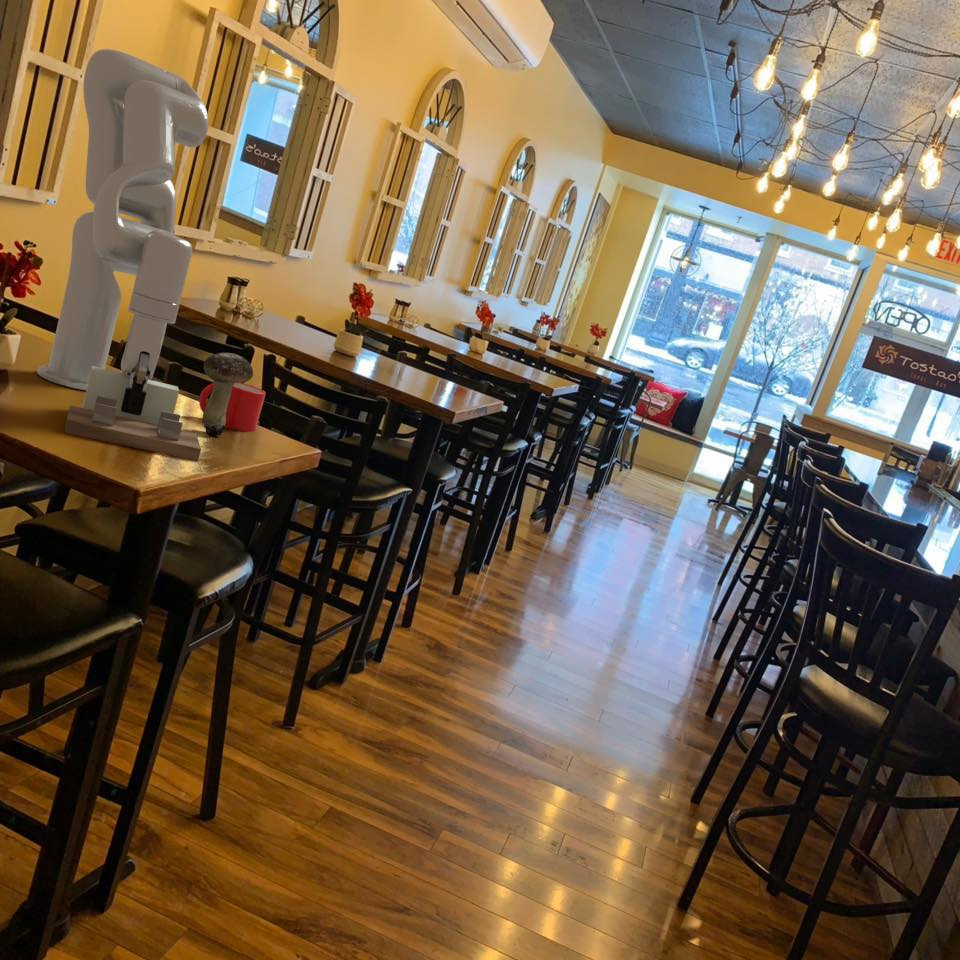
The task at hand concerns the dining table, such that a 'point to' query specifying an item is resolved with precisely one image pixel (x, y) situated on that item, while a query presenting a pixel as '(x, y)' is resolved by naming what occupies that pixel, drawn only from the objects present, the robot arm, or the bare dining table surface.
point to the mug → (239, 406)
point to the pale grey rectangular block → (114, 388)
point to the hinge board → (133, 430)
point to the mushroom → (223, 387)
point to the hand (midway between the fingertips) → (130, 407)
